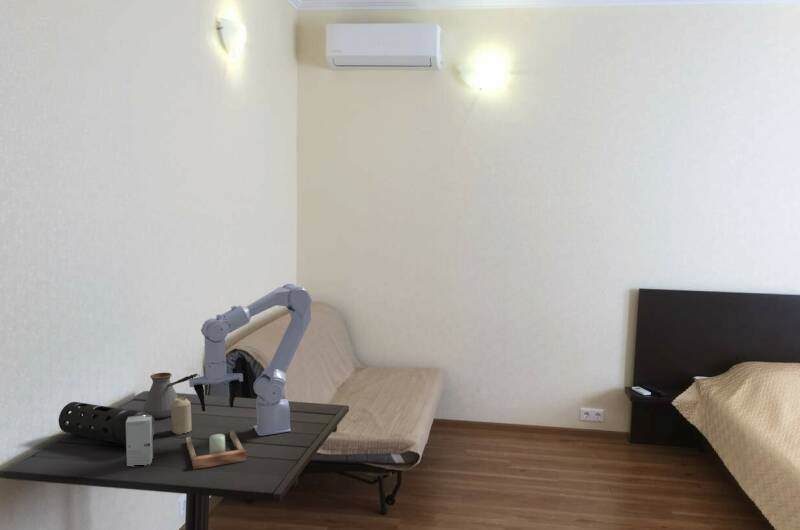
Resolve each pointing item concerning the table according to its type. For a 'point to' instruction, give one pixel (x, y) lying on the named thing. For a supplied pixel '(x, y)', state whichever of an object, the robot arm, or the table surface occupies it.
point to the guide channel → (217, 455)
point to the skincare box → (139, 440)
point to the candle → (181, 415)
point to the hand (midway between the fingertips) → (217, 408)
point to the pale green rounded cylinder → (217, 443)
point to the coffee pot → (162, 395)
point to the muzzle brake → (98, 421)
